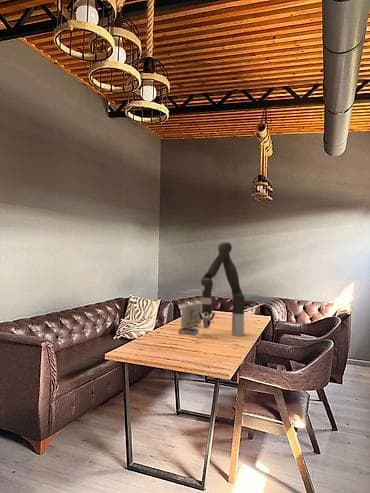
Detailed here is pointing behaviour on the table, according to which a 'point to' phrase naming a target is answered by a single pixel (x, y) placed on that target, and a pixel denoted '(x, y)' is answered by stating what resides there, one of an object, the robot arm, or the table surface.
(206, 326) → the rectangular block
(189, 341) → the table surface
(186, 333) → the rack
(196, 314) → the network device
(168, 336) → the table surface
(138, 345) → the table surface
